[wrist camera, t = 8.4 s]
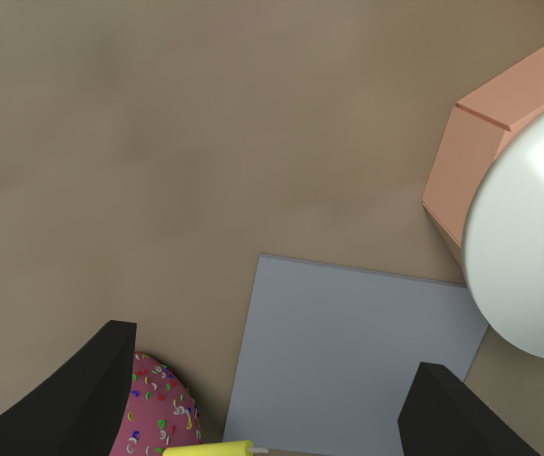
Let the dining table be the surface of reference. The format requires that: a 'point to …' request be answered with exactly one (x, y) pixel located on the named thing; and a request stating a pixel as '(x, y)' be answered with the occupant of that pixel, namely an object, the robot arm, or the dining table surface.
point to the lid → (510, 241)
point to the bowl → (480, 142)
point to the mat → (342, 354)
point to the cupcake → (166, 418)
